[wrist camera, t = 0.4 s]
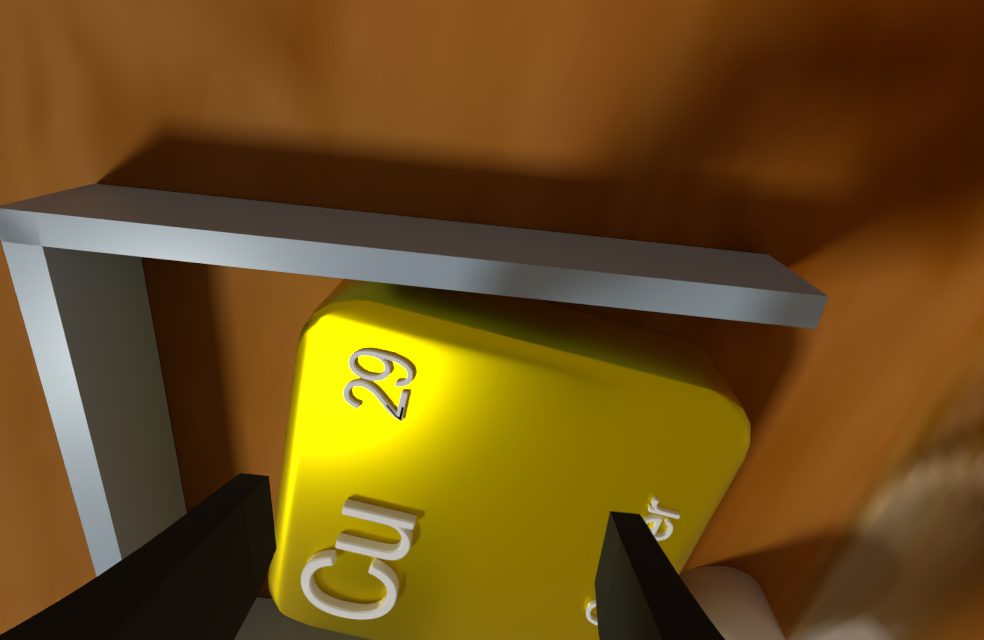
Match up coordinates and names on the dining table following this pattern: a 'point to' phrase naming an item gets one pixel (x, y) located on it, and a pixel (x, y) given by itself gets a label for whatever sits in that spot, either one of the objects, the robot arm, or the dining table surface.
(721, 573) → the jar
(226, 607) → the robot arm
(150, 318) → the gray tray
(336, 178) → the dining table surface
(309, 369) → the element tile
